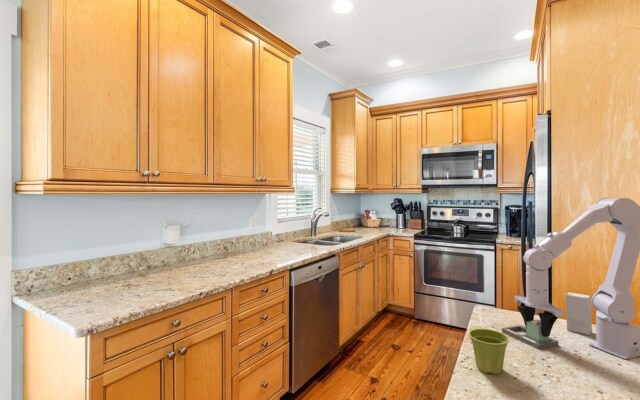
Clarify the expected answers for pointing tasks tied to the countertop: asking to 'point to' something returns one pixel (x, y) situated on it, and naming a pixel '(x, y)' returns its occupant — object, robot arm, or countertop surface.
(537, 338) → the plug
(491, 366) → the plant pot
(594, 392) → the countertop surface
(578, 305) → the skincare box
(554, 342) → the dock
